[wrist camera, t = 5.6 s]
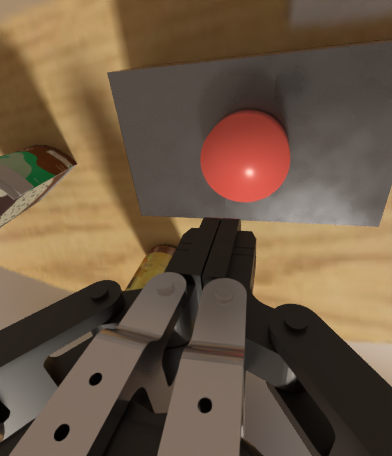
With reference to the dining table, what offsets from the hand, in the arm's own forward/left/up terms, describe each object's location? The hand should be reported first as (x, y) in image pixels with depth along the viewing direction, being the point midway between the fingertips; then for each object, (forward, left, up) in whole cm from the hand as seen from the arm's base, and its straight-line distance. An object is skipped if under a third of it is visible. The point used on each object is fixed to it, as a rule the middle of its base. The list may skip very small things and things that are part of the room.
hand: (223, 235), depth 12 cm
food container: (+26, +3, -17) cm, 31 cm away
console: (0, 0, -17) cm, 17 cm away
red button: (0, 0, -15) cm, 15 cm away
